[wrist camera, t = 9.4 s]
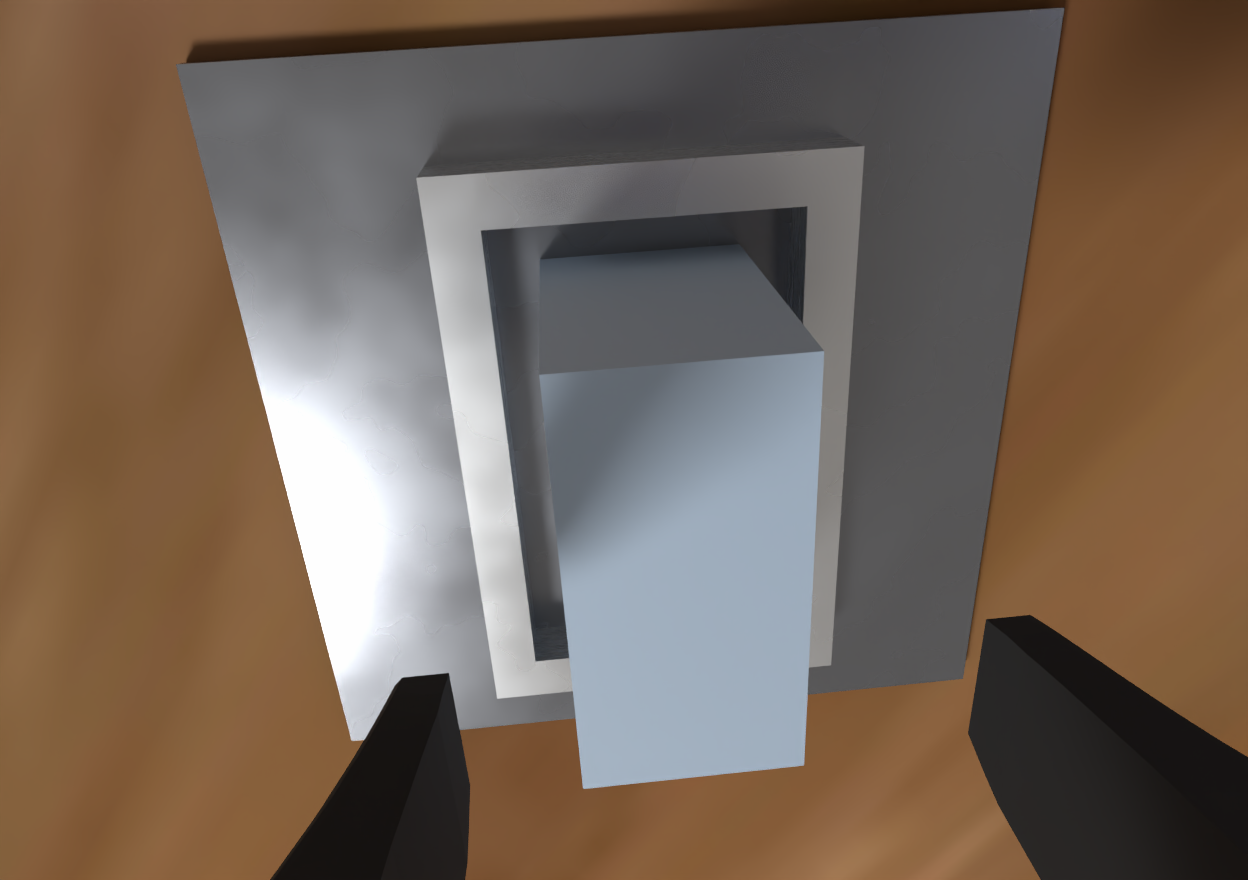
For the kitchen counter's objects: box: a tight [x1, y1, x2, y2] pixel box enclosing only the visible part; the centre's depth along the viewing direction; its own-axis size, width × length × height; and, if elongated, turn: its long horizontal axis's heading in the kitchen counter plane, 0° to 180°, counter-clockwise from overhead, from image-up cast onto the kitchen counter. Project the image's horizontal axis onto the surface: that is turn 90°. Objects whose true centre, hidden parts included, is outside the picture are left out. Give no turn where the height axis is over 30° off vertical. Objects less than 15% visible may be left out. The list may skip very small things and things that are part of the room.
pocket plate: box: [176, 8, 1064, 741], centre depth 19 cm, size 16×16×3 cm
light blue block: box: [539, 244, 824, 789], centre depth 17 cm, size 8×4×6 cm, turn 4°
